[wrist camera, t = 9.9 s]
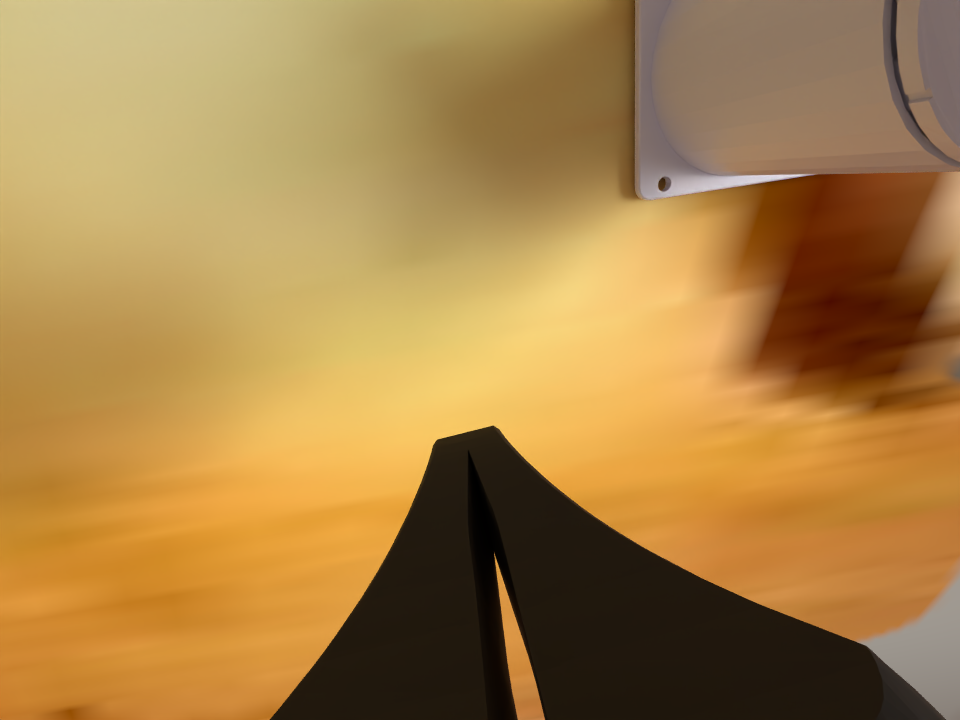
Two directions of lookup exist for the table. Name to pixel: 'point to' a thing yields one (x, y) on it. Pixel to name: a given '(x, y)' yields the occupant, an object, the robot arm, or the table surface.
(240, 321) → the table surface
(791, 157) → the robot arm
